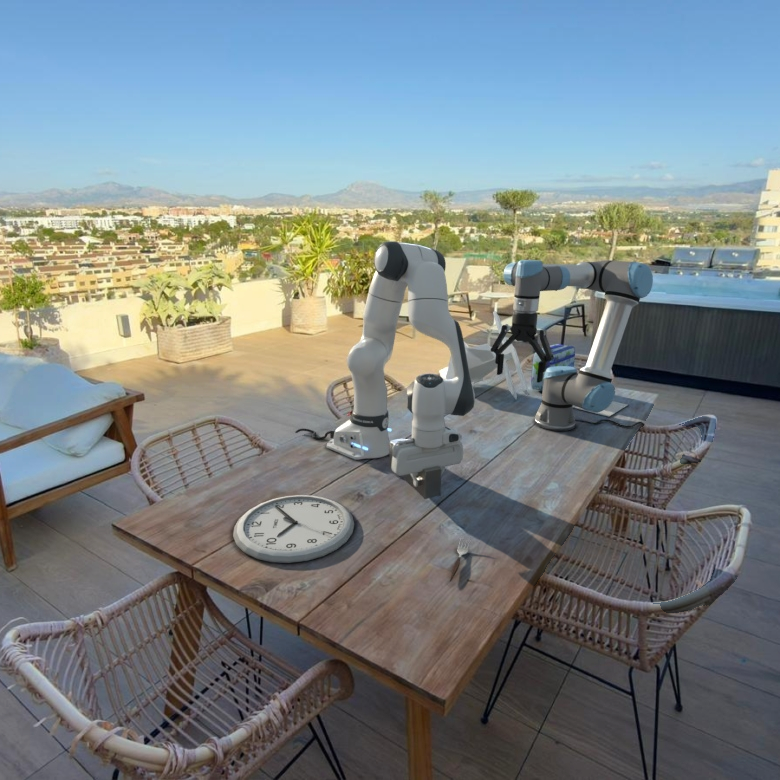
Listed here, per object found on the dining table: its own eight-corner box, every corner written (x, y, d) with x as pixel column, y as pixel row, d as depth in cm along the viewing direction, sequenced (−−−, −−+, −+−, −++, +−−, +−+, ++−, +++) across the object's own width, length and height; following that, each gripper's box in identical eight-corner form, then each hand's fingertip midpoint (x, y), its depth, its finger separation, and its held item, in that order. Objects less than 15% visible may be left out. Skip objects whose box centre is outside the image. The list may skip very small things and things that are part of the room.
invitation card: (608, 416, 214) (573, 407, 224) (608, 416, 214) (573, 408, 224) (628, 404, 229) (594, 396, 238) (628, 405, 229) (594, 397, 238)
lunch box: (547, 396, 238) (552, 351, 232) (526, 391, 246) (531, 347, 239) (574, 385, 256) (579, 343, 250) (554, 380, 263) (559, 340, 257)
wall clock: (355, 554, 119) (220, 559, 116) (355, 560, 119) (221, 565, 117) (353, 490, 147) (244, 493, 145) (353, 495, 148) (245, 498, 145)
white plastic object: (461, 429, 252) (437, 405, 227) (444, 352, 274) (420, 323, 250) (535, 404, 240) (518, 377, 215) (510, 326, 262) (492, 293, 237)
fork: (443, 582, 112) (444, 574, 112) (460, 542, 127) (460, 535, 126) (455, 584, 112) (456, 576, 111) (471, 544, 126) (471, 537, 125)
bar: (389, 465, 159) (389, 440, 156) (403, 462, 161) (403, 438, 158) (424, 499, 139) (425, 471, 136) (440, 495, 141) (441, 468, 138)
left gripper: (397, 446, 131) (397, 495, 135) (467, 433, 139) (465, 480, 143) (387, 437, 137) (387, 485, 141) (454, 426, 145) (453, 471, 149)
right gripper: (483, 308, 166) (478, 373, 172) (560, 317, 151) (552, 387, 158) (493, 306, 171) (489, 368, 178) (569, 314, 157) (561, 382, 163)
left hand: (427, 483), depth 142 cm, fingers closed on bar, 5 cm apart
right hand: (519, 377), depth 168 cm, fingers open, 13 cm apart
